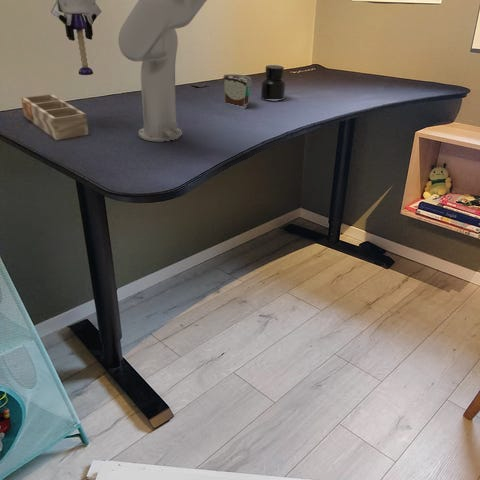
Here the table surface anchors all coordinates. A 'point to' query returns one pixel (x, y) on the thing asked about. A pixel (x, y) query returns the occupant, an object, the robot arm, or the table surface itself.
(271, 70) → the ink bottle
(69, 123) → the rack
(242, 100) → the food container
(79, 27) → the toy lamp
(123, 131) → the table surface
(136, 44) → the robot arm
